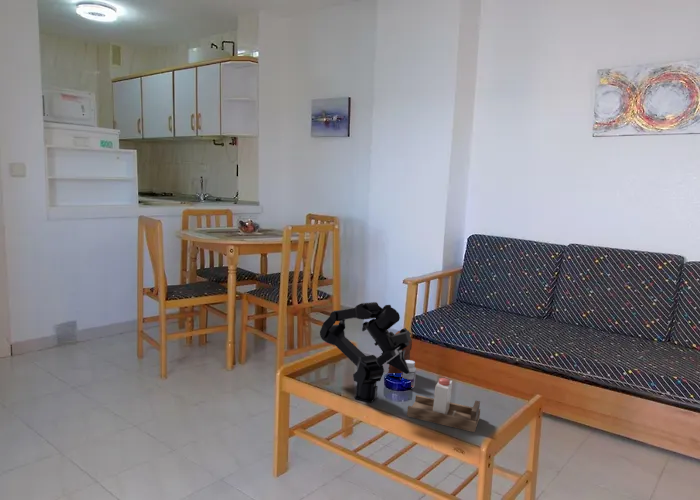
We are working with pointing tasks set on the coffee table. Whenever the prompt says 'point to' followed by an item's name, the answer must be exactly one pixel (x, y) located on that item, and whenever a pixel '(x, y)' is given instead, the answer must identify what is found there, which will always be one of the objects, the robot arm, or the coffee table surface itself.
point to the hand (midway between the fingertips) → (408, 373)
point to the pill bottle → (410, 372)
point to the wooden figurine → (406, 356)
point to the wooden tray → (454, 418)
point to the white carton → (442, 396)
